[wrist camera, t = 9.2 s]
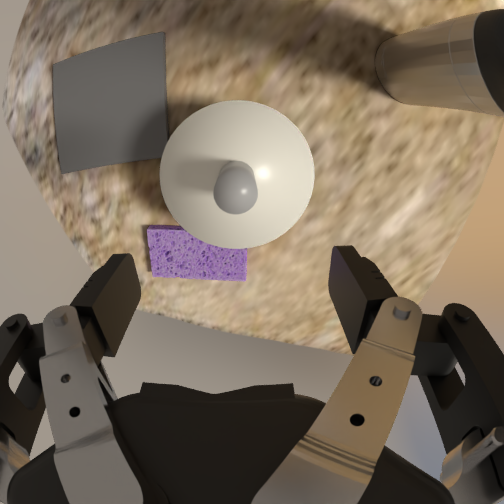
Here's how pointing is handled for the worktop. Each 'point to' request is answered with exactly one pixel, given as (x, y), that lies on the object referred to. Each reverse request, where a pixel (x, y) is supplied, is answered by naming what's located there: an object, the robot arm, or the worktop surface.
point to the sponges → (192, 256)
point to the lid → (236, 174)
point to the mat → (112, 104)
